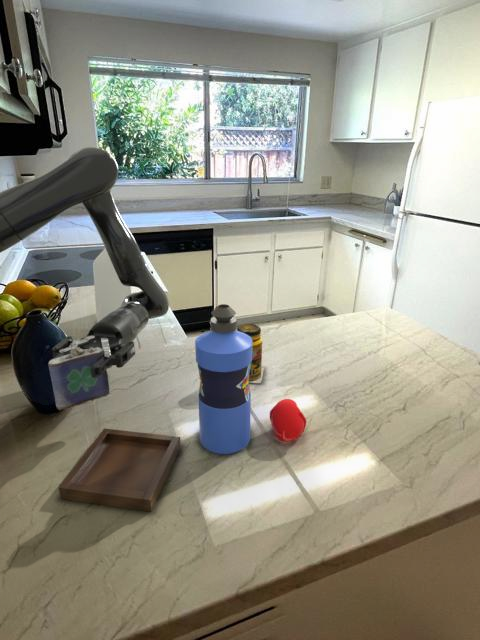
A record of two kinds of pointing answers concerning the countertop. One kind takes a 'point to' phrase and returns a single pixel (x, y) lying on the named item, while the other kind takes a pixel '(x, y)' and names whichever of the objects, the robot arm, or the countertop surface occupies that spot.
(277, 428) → the cap
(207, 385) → the water bottle
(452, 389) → the countertop surface
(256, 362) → the condiment
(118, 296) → the milk
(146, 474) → the tray
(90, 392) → the flask
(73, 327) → the countertop surface
